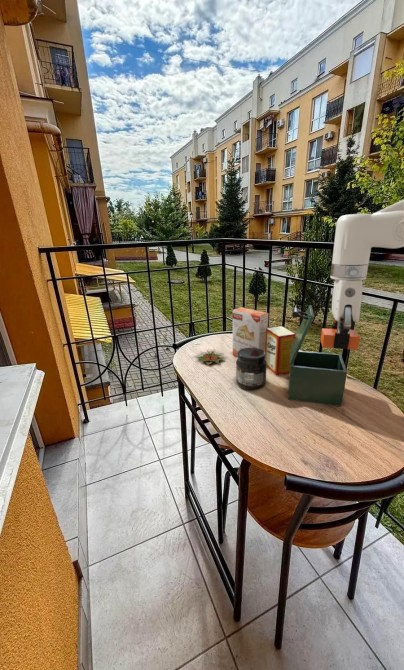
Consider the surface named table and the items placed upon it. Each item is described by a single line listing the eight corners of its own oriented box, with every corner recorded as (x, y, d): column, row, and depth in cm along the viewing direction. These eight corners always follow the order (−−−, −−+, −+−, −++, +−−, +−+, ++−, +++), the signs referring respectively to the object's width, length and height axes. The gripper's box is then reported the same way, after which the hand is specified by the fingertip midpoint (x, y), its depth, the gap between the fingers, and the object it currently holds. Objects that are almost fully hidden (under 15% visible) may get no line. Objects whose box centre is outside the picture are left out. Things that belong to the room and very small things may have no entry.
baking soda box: (264, 364, 112) (266, 327, 107) (279, 362, 114) (281, 325, 108) (276, 375, 104) (278, 335, 98) (292, 372, 105) (295, 333, 100)
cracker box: (231, 355, 122) (231, 309, 114) (240, 351, 125) (241, 306, 118) (257, 366, 112) (259, 315, 104) (266, 361, 115) (269, 312, 108)
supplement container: (256, 374, 106) (257, 344, 101) (271, 387, 96) (273, 355, 92) (230, 379, 102) (230, 349, 98) (244, 394, 93) (245, 361, 89)
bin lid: (311, 305, 89) (295, 300, 90) (314, 316, 78) (295, 310, 79) (292, 349, 96) (277, 343, 97) (291, 365, 85) (274, 359, 86)
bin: (336, 385, 96) (340, 354, 92) (341, 406, 85) (347, 372, 80) (288, 380, 100) (291, 350, 96) (287, 399, 89) (290, 366, 85)
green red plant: (191, 358, 120) (190, 349, 119) (213, 351, 126) (213, 342, 125) (206, 369, 111) (206, 358, 109) (230, 360, 117) (230, 350, 115)
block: (353, 342, 73) (355, 329, 71) (357, 349, 68) (360, 336, 67) (320, 340, 75) (321, 328, 74) (322, 347, 70) (323, 334, 69)
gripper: (377, 277, 56) (362, 359, 63) (358, 266, 72) (348, 333, 78) (336, 277, 59) (326, 356, 65) (326, 267, 74) (319, 331, 80)
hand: (338, 343), depth 71 cm, fingers closed on block, 5 cm apart
